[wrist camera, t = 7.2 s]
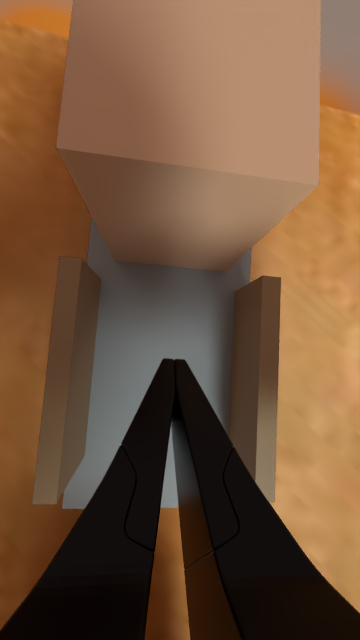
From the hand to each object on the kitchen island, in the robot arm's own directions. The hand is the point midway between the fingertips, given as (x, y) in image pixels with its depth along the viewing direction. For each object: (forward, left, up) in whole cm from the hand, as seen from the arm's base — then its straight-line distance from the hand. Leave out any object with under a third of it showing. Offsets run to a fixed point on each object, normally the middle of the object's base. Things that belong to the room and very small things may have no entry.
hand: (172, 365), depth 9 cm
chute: (+2, +3, -8) cm, 8 cm away
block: (+5, +9, -6) cm, 12 cm away
